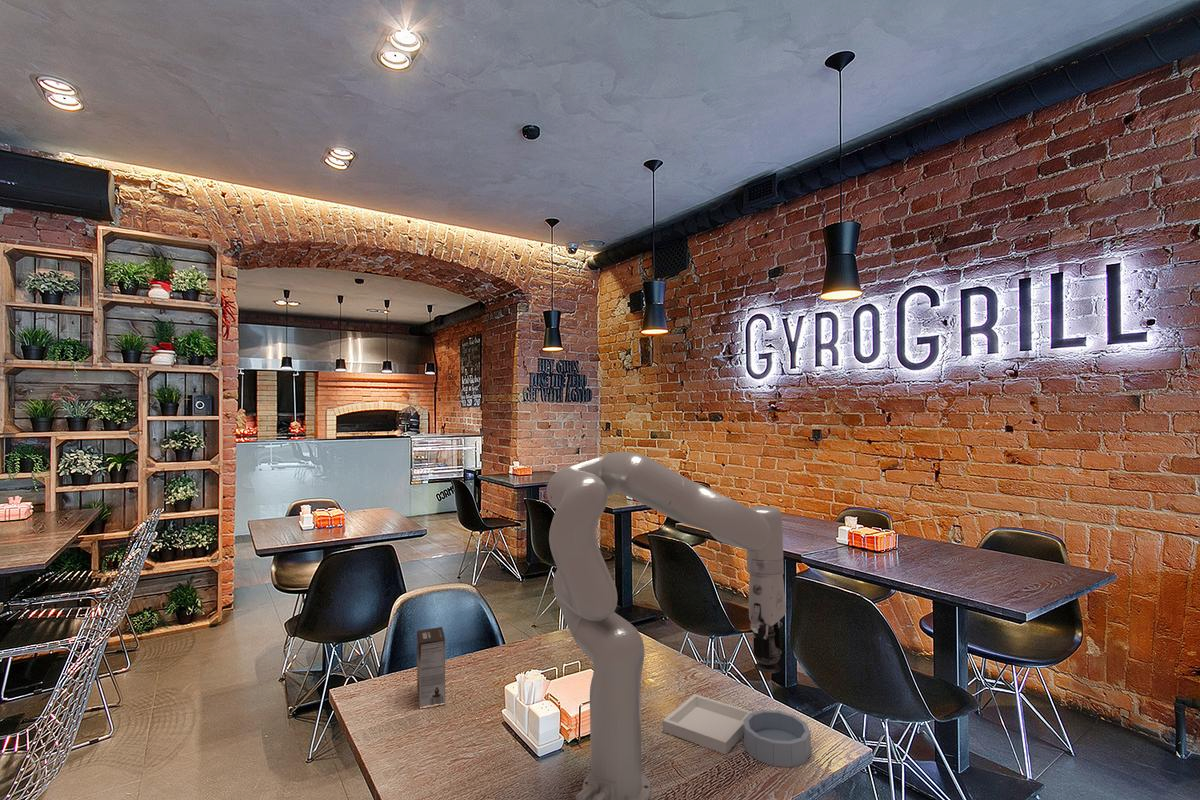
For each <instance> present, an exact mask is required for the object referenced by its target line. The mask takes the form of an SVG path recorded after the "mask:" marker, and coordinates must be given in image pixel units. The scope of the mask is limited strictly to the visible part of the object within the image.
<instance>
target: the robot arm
mask: <svg viewBox="0 0 1200 800" xmlns="http://www.w3.org/2000/svg"><path fill="white" fill-rule="evenodd" d="M614 494H620V495H623V496H625V497H628V498H630V499H633V500H634V501H636V502H637V503H640V504H642V505H644V506H646V507H648V508H650V509H652V510H655V511H656V512H658V513H661V514H662V515H664V516H666V517H668V518H670V519H672V520H674V521H677V522H679V523H682V524H684V525H687V526H691V527H695V528H699V529H701V530H705V531H707V532H709V534H710V535H711V536H712V537H713V538H714V539H715V540H716V541H718V542H721V543H723V544H726V545H729V546H733V547H735V548H740V549H741V550H745V551H746V572H747V574H749V579H748V580H749V581H748V618H749V620H750V626H749V627H750V629H751V631H752V638H753V640H752V641H753V648H754V652H753V656H754V657H755V656H757V657H762V658H766V659H768V658H769V657H770V646H769V639H768V638H767V637H768V626H773V625H774V631H775V633H776V634H775V635H774V643H775V647H777V648H779V649H780V647H781V629H780V628H781V621H780V620H781V619H782V618H783V617H784V616H786V613H787V607H786V593H785V580H784V574H785V571H784V566H785V565H784V539H783V538H784V535H783V533H784V532H783V515H782V512H781V510H780V509H779V508H777V507H775V506H770V505H754V506H751V507H748V506H746V505H745V504H743V503H741V502H739V501H737V500H734V499H733V498H730V497H728V496H726V495H723V494H721V493H719V492H717V491H714V490H712V489H711V488H708V487H706V486H704V485H702V484H700V483H698V482H696V481H693V480H691V479H689V478H687V477H685V476H684V475H682V474H680V473H678V472H676V471H674V470H672V469H671V468H669V467H667V466H665V465H663V464H661V463H660V462H658V461H656V460H653V459H652V458H650V457H649V456H646V455H644V454H641V453H637V452H632V451H631V452H630V451H613V452H609V453H606V454H602V455H600V456H596V457H594V458H591V459H589V460H585V461H582V462H579V463H576V464H573V465H570V466H566V467H564V468H562V469H559V470H557V471H556V472H555V473H553V475H552V476H551V477H550V478H549V481H548V482H547V485H546V497H547V500H548V501H549V503H550V505H551V506H552V507H553V508H555V511H554V514H553V516H552V521H551V524H550V528H549V531H548V532H549V534H548V542H549V548H550V552H551V556H552V558H553V561H554V564H555V566H556V570H555V572H554V574H553V575H554V576H553V581H552V587H553V588H552V589H553V594H554V598H555V600H556V602H557V604H558V607H559V609H560V611H561V614H562V616H563V618H564V621H565V622H566V624H567V627H568V630H569V632H570V634H571V636H572V638H573V640H574V642H575V643H576V645H577V646H578V648H579V649H580V650H581V651H582V652H583V653H584V654H585V655H586V656H587V657H588V658H589V660H591V661H592V664H593V672H592V673H593V674H592V678H591V681H590V685H589V687H590V688H589V729H590V730H589V732H590V733H589V734H590V735H589V736H590V741H589V743H590V772H589V773H588V775H587V776H586V777H585V778H584V780H583V782H582V789H581V790H580V791H579V792H578V793H577V794H576V795H575V800H649V799H650V796H651V792H652V791H651V790H652V789H651V788H652V787H651V781H650V780H649V778H648V777H647V775H646V774H644V772H643V762H642V761H643V755H642V753H643V752H642V749H643V747H642V746H643V745H642V703H641V702H642V701H641V700H642V698H641V697H642V693H641V689H642V688H641V687H642V673H643V668H644V667H643V666H644V662H645V661H644V660H645V644H644V640H643V638H642V635H641V634H640V632H639V631H638V629H637V628H636V627H635V626H634V625H633V624H632V623H631V622H629V621H628V620H627V619H625V618H623V617H622V616H621V615H619V614H618V613H616V612H615V610H616V608H617V605H618V591H617V590H618V589H617V586H616V584H615V582H614V580H613V578H612V575H611V573H610V571H609V568H608V565H607V564H606V561H605V559H604V556H603V555H602V552H601V549H600V546H599V543H598V541H597V533H596V532H597V527H598V524H599V520H600V518H601V516H602V515H603V513H604V511H605V509H606V507H607V504H608V499H609V496H612V495H614ZM760 619H762V620H764V622H765V623H763V622H759V621H760ZM760 625H762V626H764V632H763V630H762V628H760Z"/></svg>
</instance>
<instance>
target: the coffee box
mask: <svg viewBox="0 0 1200 800" xmlns="http://www.w3.org/2000/svg"><path fill="white" fill-rule="evenodd" d="M416 680H417V681H416V682H417V683H416V684H417V685H416V689H417V690H416V691H417V692H418V693H417V700H419V701H418V707H423V706H427V705H434V704H441V703H445V704H446V637H445V633H444V630H443V626H439V627H438V626H437V627H432V628H426V629H421V630H419V629H418V630H417V631H416Z"/></svg>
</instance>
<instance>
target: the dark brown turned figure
mask: <svg viewBox="0 0 1200 800" xmlns="http://www.w3.org/2000/svg"><path fill="white" fill-rule="evenodd" d="M759 622H763V623H765V622H764V620H762V619H760V621H759ZM759 626H760V628H762V630H763V632H764V626H762V625H759ZM775 634H776V633H775V631H774V625H773V626H768V637H767V638H768V639H769V646H770V657H769V658H768V659H766V658H762V657H757V656H755V655H754V657H755V658H756V660H757V663H755V664H754V669H756V670H757V671H758V672H760V673H765V674H776V673H779V672H780V671H781V670H782V669H781V666H780V665H779V664H778V662H779V661H780V658H781V655H782V654H783V652H782V650H781V649H780V647H779V648H777V647H775V643H774V635H775ZM752 651H753V653H754V647H753V648H752Z"/></svg>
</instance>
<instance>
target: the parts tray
mask: <svg viewBox="0 0 1200 800" xmlns="http://www.w3.org/2000/svg"><path fill="white" fill-rule="evenodd" d="M753 712H754V711H751V710H750V709H749V710H747V709H745V708H742V707H739V706H735V705H733V704H729V703H725V702H722V701H719V700H715V699H712V698H709V697H705V696H702V695H699V694H697V693H694V694H692V695H691V696H690V697H689V698H687V700H685V701H684V702H683V703H682V704H680V705H679V706H678V707H677V708H676V709H675V710H673V711H671V712H670V714H668V715H667V716H666V717H665V718H664V719H662V733H664V732H666V733H665V734H667V733H668V734H667V735H670V734H671V735H670V736H672V735H674V736H673V737H675V736H677V737H676V738H678V737H679V739H681V738H682V739H681V740H683V739H684V741H686V740H687V741H686V742H689V741H690V742H689V743H692V742H693V743H692V744H694V743H695V745H697V744H699V745H698V746H700V745H702V746H701V747H703V746H704V747H703V748H705V747H707V748H706V749H708V748H709V750H711V751H714V750H715V751H714V752H717V753H720V754H722V755H725V756H727V754H728V753H729V752H730V751H731V750H732V749H733V748H734V747H735V746H736V744H737V743H738V742H739V741H740V740H741V739H742V738H744V723H743V720H744V719H745V718H746V717H747V716H748V715H749V714H750V713H753ZM734 745H735V746H734ZM733 746H734V747H733ZM732 747H733V748H732Z"/></svg>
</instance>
